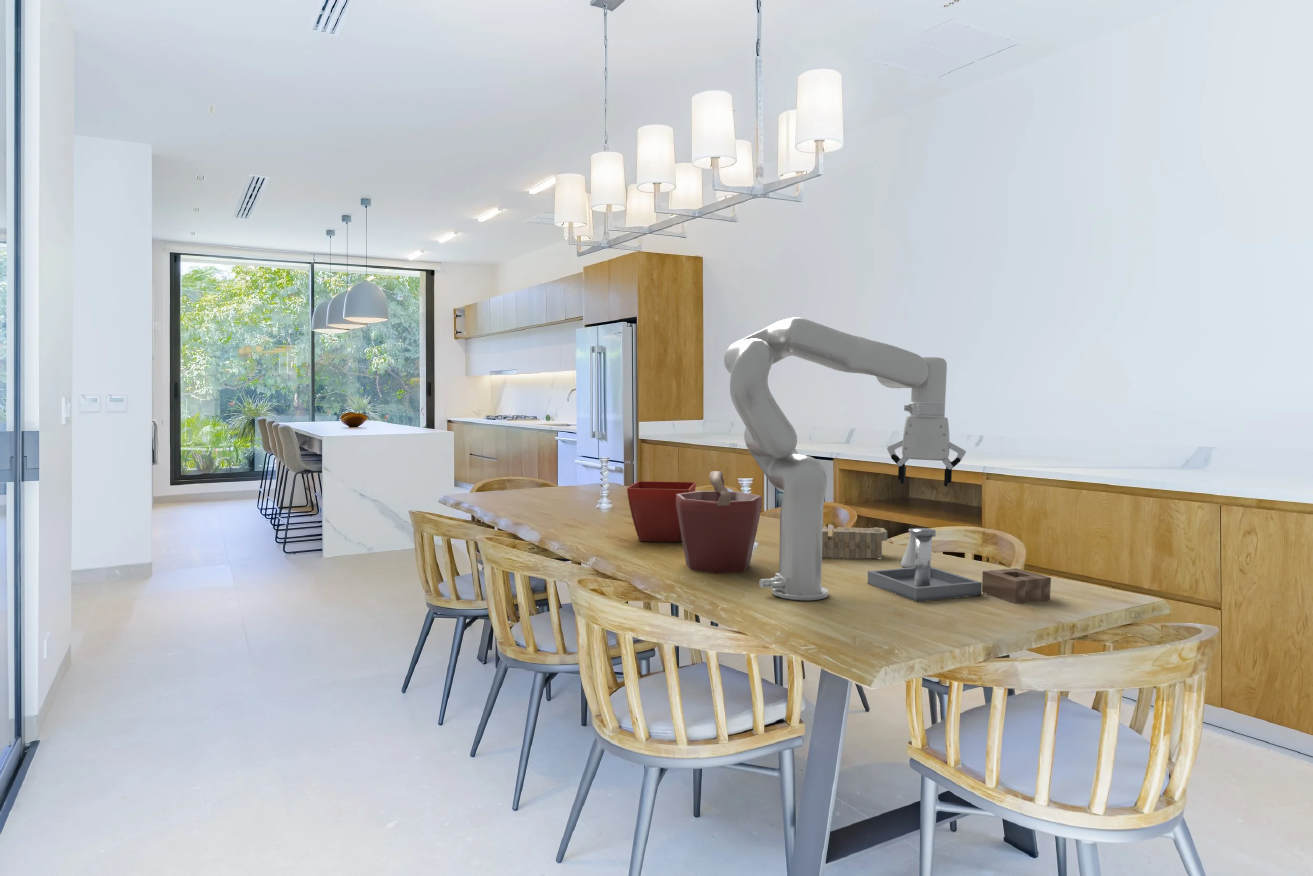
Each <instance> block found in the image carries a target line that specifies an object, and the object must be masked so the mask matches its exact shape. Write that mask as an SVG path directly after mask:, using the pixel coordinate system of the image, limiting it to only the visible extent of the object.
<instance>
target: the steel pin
mask: <svg viewBox="0 0 1313 876" xmlns="http://www.w3.org/2000/svg"><path fill="white" fill-rule="evenodd" d="M911 529H912V535H914V536H916V542H915V576H914V586H916V587H923V586H930V583H931V567H932V546H933V541H932V540H933V538H934V537H936V535H937V534H936V530H935V529H934V528H926V527H914V528H911Z"/></svg>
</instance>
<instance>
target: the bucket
mask: <svg viewBox="0 0 1313 876" xmlns="http://www.w3.org/2000/svg"><path fill="white" fill-rule="evenodd" d="M708 477H709V482H710V483H711V485H712V487H713V490H698V491H695V492H689V493H680V494H676V508H677V514H678V520H679V526H680V531H681V537H682V540H681V541H682V549H683V552H684V553H683V554H684V559H685V564H686V566H687V567H688V568H689V569H690V571H696V572H701V573H702V572H703V573H710V574H716V575H717V574H718V575H719V574H729V573H740V572H741V573H744V572H745V571H746V570H747V569H748V568H750V566H751V560H752V557H753V556H752V555H753V550H754V548H755V547H754V545H755V541H756V536H757V531H758V527H759V522H760V518H761V512H762V508H763V506H762V505H763V504H762V503H763V495H758V494H753V493H749V492H747V493H746V492H742V491H741V492H740V491H729V489H728V488H727V487H726V486H725V478H724V474H723V471H721V470H718V471H716V470H715V471H714V470H711V471H710V473H709V476H708Z"/></svg>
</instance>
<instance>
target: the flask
mask: <svg viewBox="0 0 1313 876" xmlns="http://www.w3.org/2000/svg"><path fill="white" fill-rule="evenodd" d="M912 529H913V528H909V529H908V532H909V539H908V543H907V546H906V548H905V551H904V554H903V557H902V559H901V561H900V564H899V566H900V567H902V568H912V567H915V542H916V536H914V535H912Z"/></svg>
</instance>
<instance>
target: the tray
mask: <svg viewBox="0 0 1313 876" xmlns="http://www.w3.org/2000/svg"><path fill="white" fill-rule="evenodd" d="M914 576H915V567H912V568H904V567H902V568H891V569H877V570H868V571H867V584H868V583H870V584H871V586H873V585H874V587H876V586H877V587H876V588H878V587H880V588H879V589H881V588H882V589H881V590H884V589H885V591H886V590H888V591H887V592H889V591H891V592H893V593H892V594H894V593H896V594H895V595H897V596H899V595H900V596H899V597H902V596H903V597H902V598H905V599H907V598H908V599H907V600H910V599H911V600H910V601H912V600H914V601H913V602H915V601H920V602H927V601H926V600H930V601H937V600H936V599H940V600H948V599H947V598H950V599H955V598H956V597H960V598H966V597H965V596H970V597H977V595H980V596H982V581H979V580H975V579H972V578H968V577H966V576H963V575H960V574H959V575H958V574H956V573H953V572H949V571H947V570H942V569H940V568H936V567H934V566H931V583H930V586H923V587H916V586H914ZM870 584H869V585H870ZM891 592H890V593H891ZM956 599H957V598H956Z"/></svg>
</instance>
